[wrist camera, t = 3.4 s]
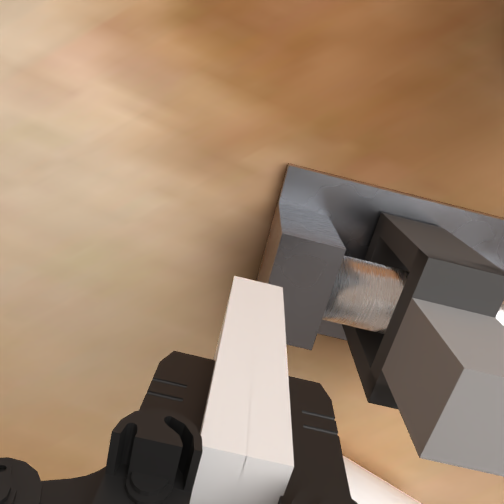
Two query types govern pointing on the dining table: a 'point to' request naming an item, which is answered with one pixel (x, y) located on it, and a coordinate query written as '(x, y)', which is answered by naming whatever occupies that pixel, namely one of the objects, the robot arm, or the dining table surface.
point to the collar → (438, 346)
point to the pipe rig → (351, 251)
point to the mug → (372, 487)
